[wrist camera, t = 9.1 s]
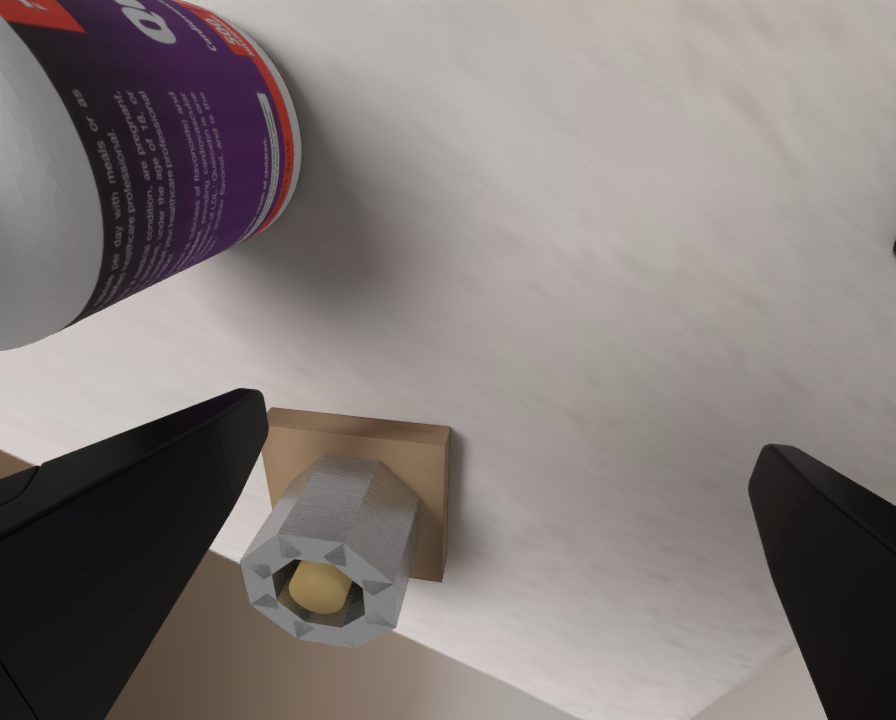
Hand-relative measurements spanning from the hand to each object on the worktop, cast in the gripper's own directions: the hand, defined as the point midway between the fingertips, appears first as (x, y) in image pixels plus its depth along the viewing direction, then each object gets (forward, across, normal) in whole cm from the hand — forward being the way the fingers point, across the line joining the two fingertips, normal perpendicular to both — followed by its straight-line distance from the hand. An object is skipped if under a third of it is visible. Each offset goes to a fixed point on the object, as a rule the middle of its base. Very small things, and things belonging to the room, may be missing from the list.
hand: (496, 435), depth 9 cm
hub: (+10, +7, +13) cm, 18 cm away
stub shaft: (+12, +7, +13) cm, 19 cm away
